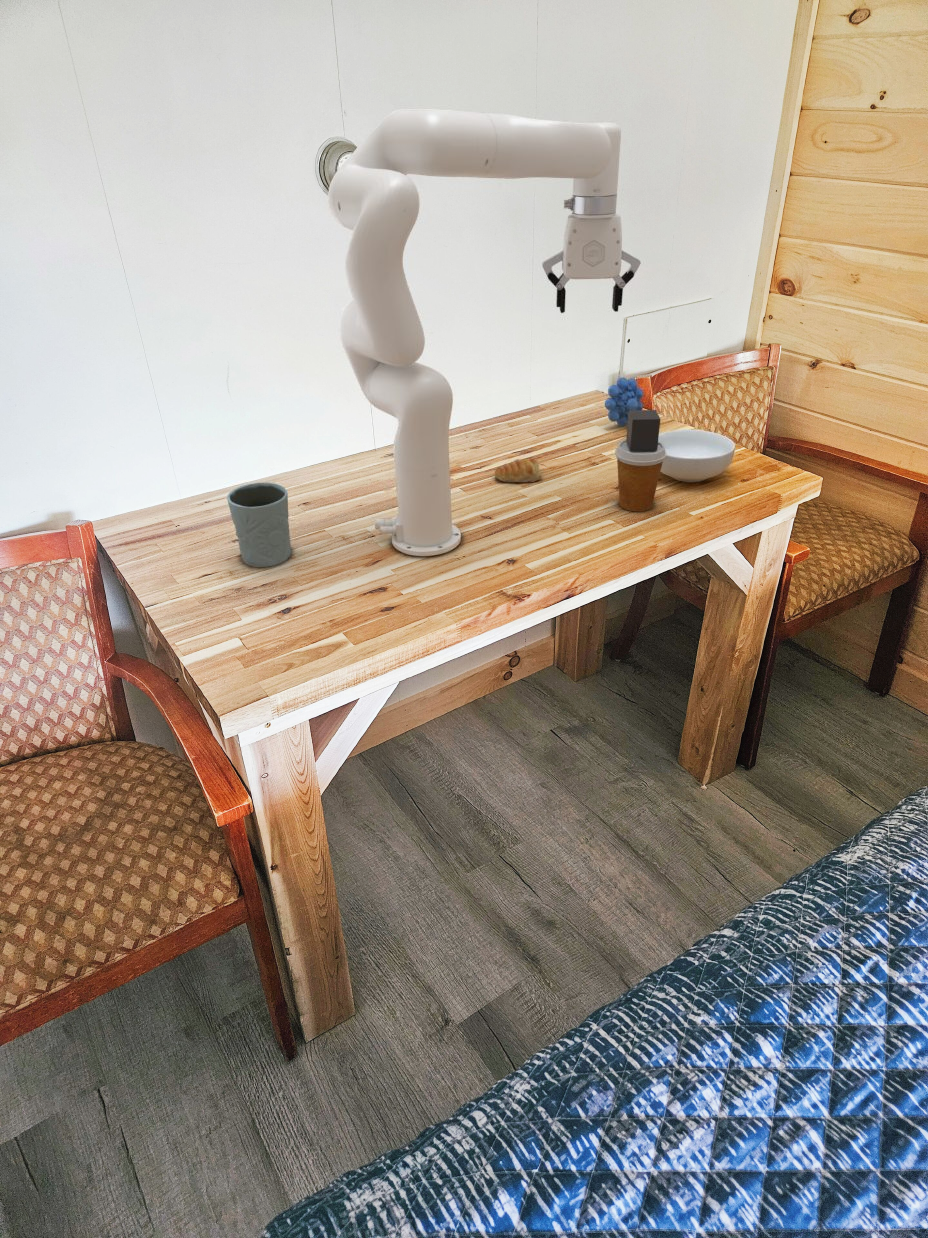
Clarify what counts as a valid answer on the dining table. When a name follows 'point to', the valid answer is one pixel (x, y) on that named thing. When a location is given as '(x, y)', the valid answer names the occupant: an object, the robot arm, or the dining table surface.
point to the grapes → (623, 400)
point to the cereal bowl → (695, 454)
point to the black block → (643, 430)
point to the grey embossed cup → (261, 523)
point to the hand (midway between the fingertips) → (588, 310)
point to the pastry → (519, 471)
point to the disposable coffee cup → (638, 476)
